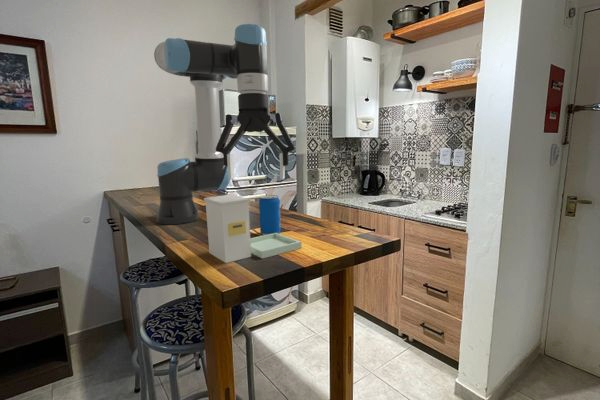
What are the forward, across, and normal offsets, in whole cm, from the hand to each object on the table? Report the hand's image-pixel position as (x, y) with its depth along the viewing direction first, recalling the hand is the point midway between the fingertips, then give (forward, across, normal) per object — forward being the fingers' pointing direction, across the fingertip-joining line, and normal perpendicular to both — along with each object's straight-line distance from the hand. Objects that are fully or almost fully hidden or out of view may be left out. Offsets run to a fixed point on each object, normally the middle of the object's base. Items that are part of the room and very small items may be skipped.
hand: (256, 179), depth 85 cm
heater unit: (+19, -7, -4) cm, 21 cm away
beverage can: (+20, 0, +16) cm, 25 cm away
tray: (+19, +2, +2) cm, 19 cm away
